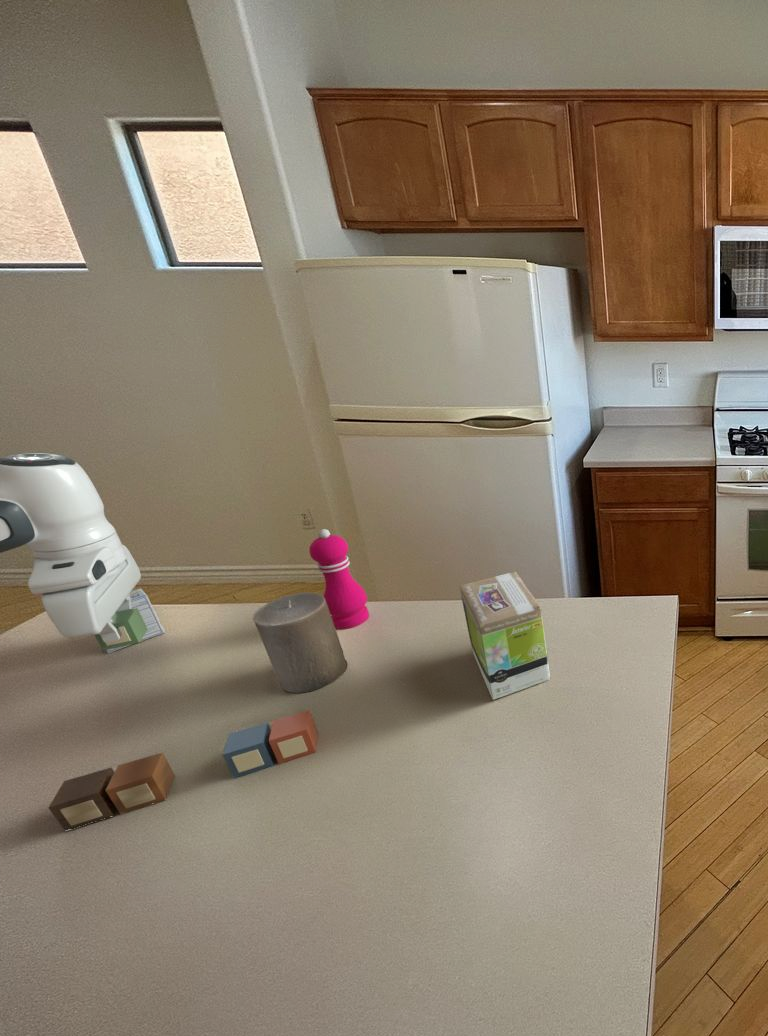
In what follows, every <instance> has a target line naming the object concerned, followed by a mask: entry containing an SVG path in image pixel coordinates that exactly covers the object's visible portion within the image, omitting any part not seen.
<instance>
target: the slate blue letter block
mask: <svg viewBox="0 0 768 1036" xmlns="http://www.w3.org/2000/svg"><path fill="white" fill-rule="evenodd" d="M270 733H271V727H270V724H269V722H263V723H259V724H256V725H252V726H250V727H246V728H243V729H239V730H236V731H232V732H229V733H228V735H227V739H226V742H225V745H224V748H223V752H222V757H223V759H224V762H225V764H226V765H227V768H228V770H229V771H230V774H231V775H232V777H233V779H236V778H239V777H242V776H246V775H249V774H252V773H255V772H258V771H262V770H265V769H267V768H270V767H273V766H274V764H275V759H276V757H275V754H274V752H273V750H272V747H271V745H270V743H269V737H270Z"/></svg>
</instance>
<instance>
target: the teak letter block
mask: <svg viewBox="0 0 768 1036" xmlns="http://www.w3.org/2000/svg"><path fill="white" fill-rule="evenodd" d="M175 778H176V774H175V772H174V771H173V769H172V767H171V764H169V762H168V759H167V758H166V756H165V754H164V753H163V752H159V753H156V754H153V755H149V756H146V757H142V758H139V759H135V760H132V761H129V762H126V763H122V764H119V765H117V766H116V769H115V771H114V774H113V776H112V778H111V780H110V782H109V784H108V786H107V788H106V790H105V791H106V792H107V794H108V795H109V797H110V799H111V800H112V802H113V803H114V805H115V806H116V808H117V811H118V813H119V814H120V815H123V814H122V813H124V812H127V811H130V812H132V811H131V810H133V811H136V810H139V809H138V808H140V809H142V808H141V807H143V808H145V807H144V806H146V807H148V806H147V805H149V806H151V805H150V804H152V803H155V804H158V803H161V802H163V801H162V800H164V801H166V800H167V799H166V797H167V798H168V796H169V794H168V792H169V793H170V791H169V790H171V788H172V785H173V783H174V781H175ZM167 795H168V796H167ZM165 799H166V800H165ZM160 801H161V802H160ZM157 802H158V803H157ZM152 805H153V804H152ZM135 809H136V810H135ZM127 813H128V812H127ZM124 814H125V813H124Z"/></svg>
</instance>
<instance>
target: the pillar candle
mask: <svg viewBox="0 0 768 1036" xmlns="http://www.w3.org/2000/svg"><path fill="white" fill-rule="evenodd" d="M323 596H324V595H323V594H320V593H318V592H311V591H310V592H297V593H294V594H289V595H285V596H282V597H280V598H277V599H274V600H272V601H270V602H268V603H266V604H264V605H263V606H260V607H259V608H258V609H257V610H255V612H254V614H253V618H252V621H253V623H254V625H255V627H256V630H257V632H258V634H259V637H260V639H261V642H262V644H263V646H264V649H265V651H266V654H267V656H268V659H269V661H270V664H271V667H272V669H273V672H274V673H275V675H276V678H277V680H278V683H279V686H280V688H282V689H283V690H285V691H286V692H289V693H292V694H297V693H298V694H300V693H307V692H313V691H316V690H318V689H321V688H323V687H325V686H328V685H329V684H331V683H332V682H335V681H336V680H337V679H338V678H340V677H341V676H342V675H343V674H344V673H345V672H346V670H347V668H348V661H347V659H346V657H345V654H344V650H343V647H342V644H341V642H340V638H339V636H338V633H337V630H336V629H337V628H335V626H334V624H333V620H332V617H331V614H330V611H329V608H328V606H327V603H326V600H325V598H324V597H323Z"/></svg>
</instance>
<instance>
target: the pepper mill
mask: <svg viewBox="0 0 768 1036" xmlns="http://www.w3.org/2000/svg"><path fill="white" fill-rule="evenodd" d="M317 535H318V537H317V538H315V539H314V540H313V541H312V542H311V543H310V545H309V548H308V552H309V557H310V558H311V559H312V560H313V561H314V562H316V566H317V569H318V572H320V573H322V575H323V577H324V582H325V588H324V593H323V595H322V596H323V597H324V598H325V600H326V603H327V606H328V608H329V611H330V614H331V617H332V620H333V624H334V626H335V629H340V630H347V629H351V628H354V627H357V626H360V625H362V624H363V623H365V622H366V621H368V619H369V617H370V612H369V609H368V606H366V604H367V602H368V595H367V594H366V591H365V590H364V589H363V586H361V585H360V584H359V583H358V582H357V581H356V580H355V579H354V578H353V576H352V575H351V572H350V570H349V565H350V564H351V562H350V560H349V556H347V554H348V553H349V545H348V543H347V541H346V540H345V539H344V538H343V537H341V536H339V535H336V534H331V532H330V531H329V530H328V529H327V528H322V529H320V530H319V531H318V533H317Z"/></svg>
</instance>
